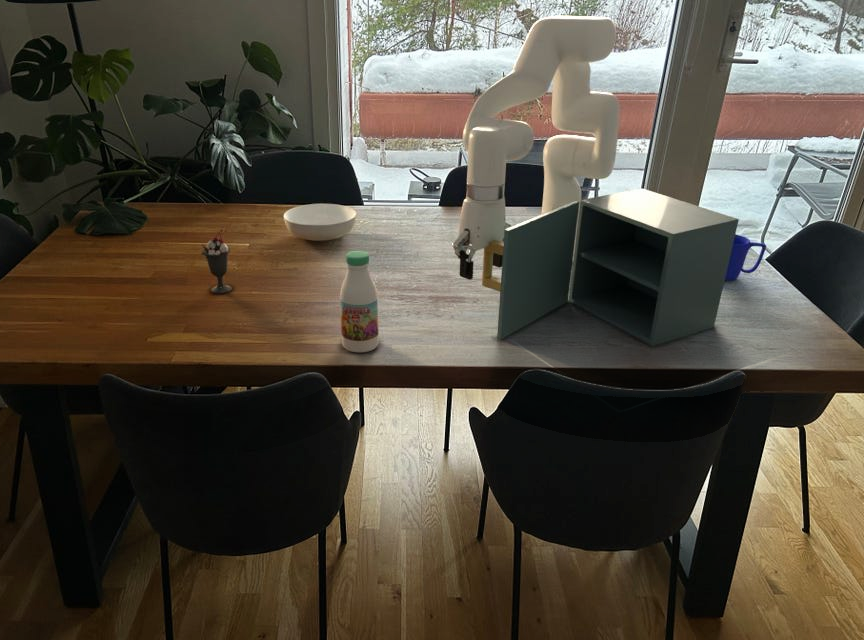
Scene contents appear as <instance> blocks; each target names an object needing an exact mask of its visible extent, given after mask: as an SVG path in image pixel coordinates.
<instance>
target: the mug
mask: <svg viewBox="0 0 864 640" xmlns="http://www.w3.org/2000/svg"><path fill="white" fill-rule="evenodd" d="M753 247H761V249H760V252H759V256H758V257H757V261H756V262H755V264H754V265H753V266H752V268H750V269H744V265H745V261H746V258H747V256H748V253H749V250H750V249H751V248H753ZM766 249H767V244H766V243H762V242H755V241H754V242H753V241H751V240H750V239H749V238H748V237H746V236H744V235H740V234H735V238H734V242H733V247H732V251H731V255H730V260H729V264H728V268H727V273H726V277H725V281H724V282H732V281H735V280H737V279H738V277H740V274H741V272H742V273H744V274H752V273H753V272H755V271H757V269H758V267H759V266H760V264H761V262H762V259H763V258H764V255H765V253H766Z"/></svg>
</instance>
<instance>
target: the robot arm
mask: <svg viewBox="0 0 864 640" xmlns="http://www.w3.org/2000/svg"><path fill="white" fill-rule="evenodd" d="M616 41H617V27H616V25H615V22H614V20H613V19H611V18H610V17H606V16H578V15H577V16H576V15H554V16H549V17H548V16H547V17H543V18H540V19H538V20H537V21H536V22H534V23H533V25H532V26H531V28H530V30H529V31H528V33H527V35H526V38H525V40H524V42H523V44H522V47H521V49H520V51H519V54H518V56H517V58H516V60H515V63H514V64H513V67H512V70H511V72H509V73H508V74H507V75H505V76H504V77H502V78H501V79H499V80H497V81H496V82H495V83H493V84H492V85H491V86H490V87H489V88H487V89H486V90H485V91H484V92H482V93H481V94H480V95H479V97H478V98H477V99H476V101H474V104H473V106H472V108H471V110H470V112H469V115H468V116H467V120H466V122H465V125H464V127H463V132H462V145H463V148H464V149H465V151H466V152H467V169H466V170H467V172H466V174H467V175H466V194H465V195H466V196H465V199H463V202H462V205H461V206H462V207H461V210H460V217H459V225H458V235H457V236H458V237H457V238H456V239H455V240H454V241H453V243H452V247H453V250H454V254H455V255H456V256H457V259H459V277H461V278H463V279H466V280H469V281H470V280H473V279H474V260H473V258H474V256H475V254H476V252H478V251H480V250H484V248H486V247H488V245H489V242H491V241H494V240H497V241H501V242H504V230H505V229H508V228H510V227H512V224H510V223H508V222H507V221H506V220H507V219H506V214H507V212H506V198H505V185H506V172H507V171H506V170H507V162H513V161H519V160H521V159H523V158H525V157H526V156H527V155H529V153H530V152H531V150H533V149H532V148H533V146H534V143H535V133H534V130H533V127H532V126H531V125H530V124H528V123H527V122H525V121H521V120H516V119H515V120H513V119H506V118H505V119H504V118H495V117H497V116H498V115H499V114H500V113H502V112H504V111H507V110H508V109H511V108H514V107H517V106H520V105H523V104H527V103H530V102H533V101H537V100H538V99H540V98H542V97H543V96H544V95H546V94H547V92H548V91H549V89H550V86H551V83H552V93H551V94H552V95H551V123H552V124H551V125H552V126H553V127H554V128H555V129H556V130H559V131H562V132H569V133H578V134H587V135H588V134H589V135H593V137H590V136H589V137H587V136H581V135H580V136H579V135H573V134H572V135H571V134H559V135H555V136H552V137H550V138H548V140H547V141H546V142H545V144H544V147H543V149H542V150H543V151H542V162H543V163H542V164H543V176H544V178H543V195H542V205H541V214H540V215H542V214H544V213H547V212H549V211H552V210H554V209H557V208H559V207H562V206H564V205H567V204H569V203H571V202H574V201H579V208H580V200H582V189H581V186H580V184H579V181H578V180H577V177H578V178H583V179H584V178H585V179H592V180H604V179H607V178H608V177H610V175H611V174H612V172H613V170H614V167H615V162H616V158H617V157H616V155H617V147H618V137H619V128H620V119H621V118H620V117H621V106H620V101H619V99H618V97H617V96H616V95H615V94H614V93H610V92H604V91H593V90H591V87H590V86H591V74H592V73H591V72H592V71H591V70H592V69H591V65H590V63H595V62H600V61H603V60H605V59H606V58H608V57H609V56H610V55H611V53H612V51H613V50H614V47H615V44H616ZM578 216H579V210H578ZM577 225H578V218H577ZM576 233H577V227H576ZM575 242H576V235H575ZM468 250H469V252H468V253H467V251H468ZM574 250H575V244H574ZM573 258H574V252H573ZM502 259H503V255H499V254H496V253H493V266H492V267H497V268H502ZM572 264H573V261H572Z"/></svg>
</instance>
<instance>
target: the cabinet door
mask: <svg viewBox="0 0 864 640" xmlns="http://www.w3.org/2000/svg"><path fill="white" fill-rule="evenodd" d="M578 210H579V201H574V202H571V203H569V204H567V205H564V206H562V207H559V208H557V209H554V210H552V211H549V212H547V213H544V214H542V213H541V214H542V215H541V214H540V215H537V216H534V217H533V218H532V217H531V218H530V219H527V220H524V221H523V222H520V223H518V224H514V225H512V226H511V227H510V228H508V229H505V230H504V242H501V241H497V240H494V241H491V242H489V245H488V247H486V248H483V257H482V275H481V276H482V277H481V286H482V287H485V288H487V289H491V290H494V291H497V292H498V293H499V306H498V316H497V317H498V318H497V319H498V321H497V333H496V335H497V336H496V339H499V340H503V339H504V338H506V337H507V336H509V335H511V334H513V333H515V332H516V331H518V330H520V329H522V328H524V327H525V326H527V325H529V324H530V323H532V322H534V321H536V320H537V319H540V318H541V317H543V316H545V315H547V314H548V313H550V312H552V311H554V310H556V309H558V308H559V307H561V306H563V305H564V304H566V303H568V302H569V301H568V300H569V292H570V284H571V275H572V267H573V263H572V261H573V252H574V244H575V235H576V227H577V218H578ZM493 253H496V254H499V255H503V259H502V267H501V274H500V277H497V276H494V275H493V267H494V266H493Z"/></svg>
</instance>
